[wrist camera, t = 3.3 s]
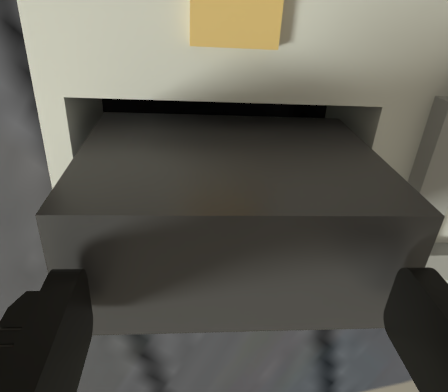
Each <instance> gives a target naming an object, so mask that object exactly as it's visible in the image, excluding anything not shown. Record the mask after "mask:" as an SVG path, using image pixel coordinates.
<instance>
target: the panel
mask: <svg viewBox="0 0 448 392" xmlns="http://www.w3.org/2000/svg"><path fill="white" fill-rule="evenodd" d="M17 4H18V9H19V14H20V20H21V25H22V30H23V36H24V41H25V46H26V52H27V57H28V62H29V68H30V73H31V78H32V84H33V89H34V94H35V100H36V105H37V110H38V115H39V121H40V126H41V131H42V137H43V142H44V147H45V153H46V158H47V163H48V169H49V174H50V179H51V185H52V189H53V188H54V186H55V185H56V183H57V182H58V180H59V179H60V177H61V176H62V174H63V173H64V171H65V170H66V168H67V167H68V165H69V164H70V162H71V161H72V159H73V158H74V156H75V155H76V153H77V152H78V150H79V149H80V147H81V146H82V144H83V143H84V141H85V140H86V138H87V137H88V135H89V134H90V132H91V131H92V129H93V127H94V126H95V124H96V123H97V121H98V120H99V118H100V117H101V115H102V114H103V104H102V98H104V99H137V100H170V101H203V102H235V103H268V104H301V105H327V108H326V114H325V118H339V119H340V120H341V121H342V122H343V123H344V124H345V125H346V126H347V127H349V128H350V129H351V130H352V131H353V132H354V133H355V134H356V135H357V136H358V137H359V138H360V139H362V140H363V141H364V142H365V143H366V144H367V145H368V146H369V147H370V148H371V149H372V150H373V151H375V152H376V153H377V154H378V155H379V156H380V157H381V158H382V159H383V160H384V161H385V162H386V163H388V164H389V165H390V166H391V167H392V168H393V169H394V170H395V171H396V172H397V173H398V174H399V175H401V176H402V177H403V178H404V179H405V180H406V181H407V182H408V183H409V184H410V185H411V186H412V187H414V188H415V189H416V190H417V191H418V192H419V193H420V194H421V195H422V196H423V197H424V198H425V199H427V200H428V201H429V202H430V203H431V204H432V205H433V206H434V207H435V208H436V209H437V210H438V211H440V212H441V213H442V214H443V215H444V216H445V218H444V220H443V223H442V225H441V228H440V230H439V233H438V235H437V238H436V241H435V243H434V246H433V248H432V251H431V253H430V256H429V258H428V261H427V264H426V266H425V267H430V268H434V269H435V270H436V271H437V272H438V273H439V274H440V275H441V276H442V277H443V279H444V280H445V281H446V282H447V283H448V0H17Z"/></svg>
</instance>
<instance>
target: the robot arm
mask: <svg viewBox="0 0 448 392" xmlns="http://www.w3.org/2000/svg"><path fill="white" fill-rule="evenodd" d="M383 320H384V326H385V330H386V332H387V334H388V336H389V338H390V340H391V342H392V344H393V345H394V347H395V349H396V351H397V353H398V354H399V356H400V358H401V360H402V361H403V363H404V365H405V367H406V369H407V370H408V372H409V374H410V376H411V378H412V379H413V381H414V383H415V385H416V387H417V388H418V390H419V392H448V283H447V282H446V281H445V280H444V279H443V277H442V276H441V275H440V274H439V273H438V272H437V271H436V270H435V269H434V268H430V267H418V268H401V269H400V270H399V271H398V272H397V274H396V277H395V280H394V283H393V286H392V289H391V292H390V294H389V297H388V300H387V303H386V306H385V309H384V314H383ZM92 331H93V311H92V304H91V298H90V291H89V285H88V278H87V273H86V271H85V269H52V270H51V271H50V272H49V273H48V275H47V277H46V279H45V281H44V284H43V286H42V288H41V290H40V291H26V292H25V293H24V294H23V295H22V296H21V297H20V298H18V299H17V300H16V301H15V302H14V303H13V304H12V305H11V306H9V307H8V309H7V310H6V312H5V314H4V316H3V317H2V319H1V321H0V392H77V388H78V385H79V381H80V377H81V374H82V370H83V367H84V363H85V360H86V356H87V352H88V349H89V345H90V342H91V337H92Z"/></svg>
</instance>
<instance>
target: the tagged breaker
mask: <svg viewBox="0 0 448 392" xmlns="http://www.w3.org/2000/svg"><path fill="white" fill-rule="evenodd" d="M35 216H36V220H37V225H38V229H39V234H40V238H41V243H42V248H43V252H44V257H45V261H46V266H47V270H48V273H49V272H50V271H51V270H52V269H85V271H86V273H87V278H88V285H89V291H90V298H91V304H92V311H93V331H92V335H126V334H166V333H206V332H246V331H286V330H327V329H367V328H385V326H384V320H383V314H384V309H385V306H386V303H387V300H388V297H389V294H390V292H391V289H392V286H393V283H394V280H395V277H396V274H397V272H398V271H399V270H400V269H401V268H418V267H425V266H426V264H427V261H428V258H429V256H430V253H431V251H432V248H433V246H434V243H435V241H436V238H437V235H438V233H439V230H440V228H441V225H442V223H443V220H444V218H445V216H444V215H443V214H442V213H441V212H440V211H438V210H437V209H436V208H435V207H434V206H433V205H432V204H431V203H430V202H429V201H428V200H427V199H425V198H424V197H423V196H422V195H421V194H420V193H419V192H418V191H417V190H416V189H415V188H414V187H412V186H411V185H410V184H409V183H408V182H407V181H406V180H405V179H404V178H403V177H402V176H401V175H399V174H398V173H397V172H396V171H395V170H394V169H393V168H392V167H391V166H390V165H389V164H388V163H386V162H385V161H384V160H383V159H382V158H381V157H380V156H379V155H378V154H377V153H376V152H375V151H373V150H372V149H371V148H370V147H369V146H368V145H367V144H366V143H365V142H364V141H363V140H362V139H360V138H359V137H358V136H357V135H356V134H355V133H354V132H353V131H352V130H351V129H350V128H349V127H347V126H346V125H345V124H344V123H343V122H342V121H341V120H340V119H339V118H303V117H267V116H230V115H194V114H157V113H121V112H103V114H102V115H101V117H100V118H99V120H98V121H97V123H96V124H95V126H94V127H93V129H92V131H91V132H90V134H89V135H88V137H87V138H86V140H85V141H84V143H83V144H82V146H81V147H80V149H79V150H78V152H77V153H76V155H75V156H74V158H73V159H72V161H71V162H70V164H69V165H68V167H67V168H66V170H65V171H64V173H63V174H62V176H61V177H60V179H59V180H58V182H57V183H56V185H55V186H54V188H53V189H52V191H51V192H50V194H49V195H48V197H47V198H46V200H45V201H44V203H43V204H42V206H41V207H40V209H39V210H38V212H37V213H36V215H35Z"/></svg>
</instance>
